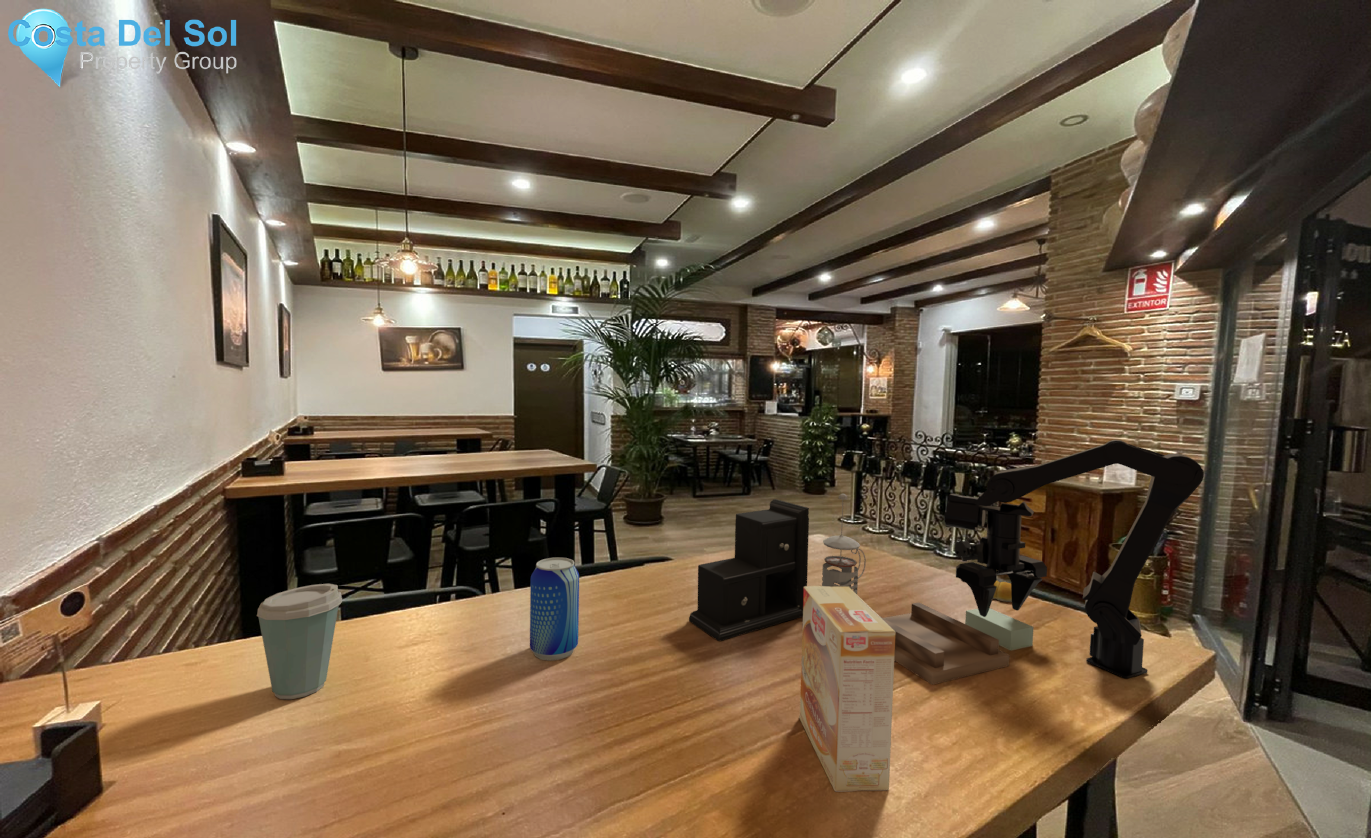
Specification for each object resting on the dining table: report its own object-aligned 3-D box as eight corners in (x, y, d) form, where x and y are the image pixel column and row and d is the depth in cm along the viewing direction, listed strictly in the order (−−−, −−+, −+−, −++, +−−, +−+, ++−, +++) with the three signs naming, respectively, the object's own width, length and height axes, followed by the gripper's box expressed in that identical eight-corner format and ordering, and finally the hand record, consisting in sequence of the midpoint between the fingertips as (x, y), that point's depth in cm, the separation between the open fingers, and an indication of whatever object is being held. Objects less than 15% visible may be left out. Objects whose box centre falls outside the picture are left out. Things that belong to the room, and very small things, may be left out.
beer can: (519, 655, 94) (520, 565, 93) (552, 636, 102) (553, 553, 101) (556, 667, 90) (557, 573, 89) (587, 647, 98) (589, 560, 97)
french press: (807, 597, 125) (811, 491, 123) (846, 591, 129) (850, 488, 128) (836, 613, 116) (840, 499, 114) (877, 606, 121) (881, 495, 119)
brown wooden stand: (1008, 665, 95) (1009, 641, 94) (932, 684, 88) (933, 657, 87) (919, 620, 113) (920, 599, 113) (851, 633, 106) (851, 611, 106)
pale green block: (1032, 647, 103) (1033, 626, 103) (1010, 652, 101) (1011, 631, 100) (986, 625, 112) (987, 607, 112) (964, 629, 110) (965, 610, 110)
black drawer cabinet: (718, 642, 101) (722, 519, 100) (687, 621, 110) (690, 508, 109) (807, 617, 114) (811, 507, 113) (773, 600, 123) (776, 498, 122)
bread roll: (1017, 606, 123) (1018, 589, 123) (974, 596, 129) (975, 579, 129) (1022, 596, 130) (1023, 579, 129) (981, 587, 135) (982, 571, 135)
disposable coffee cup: (241, 712, 76) (240, 608, 75) (277, 674, 86) (276, 582, 85) (327, 702, 79) (327, 602, 78) (352, 666, 89) (351, 577, 88)
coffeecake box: (797, 717, 78) (802, 585, 77) (845, 716, 78) (850, 585, 78) (832, 793, 63) (838, 630, 62) (891, 791, 64) (898, 630, 63)
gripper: (998, 522, 116) (995, 593, 117) (934, 528, 109) (931, 603, 110) (1050, 535, 106) (1046, 612, 107) (983, 542, 99) (979, 625, 100)
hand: (999, 612), depth 106 cm, fingers open, 9 cm apart
